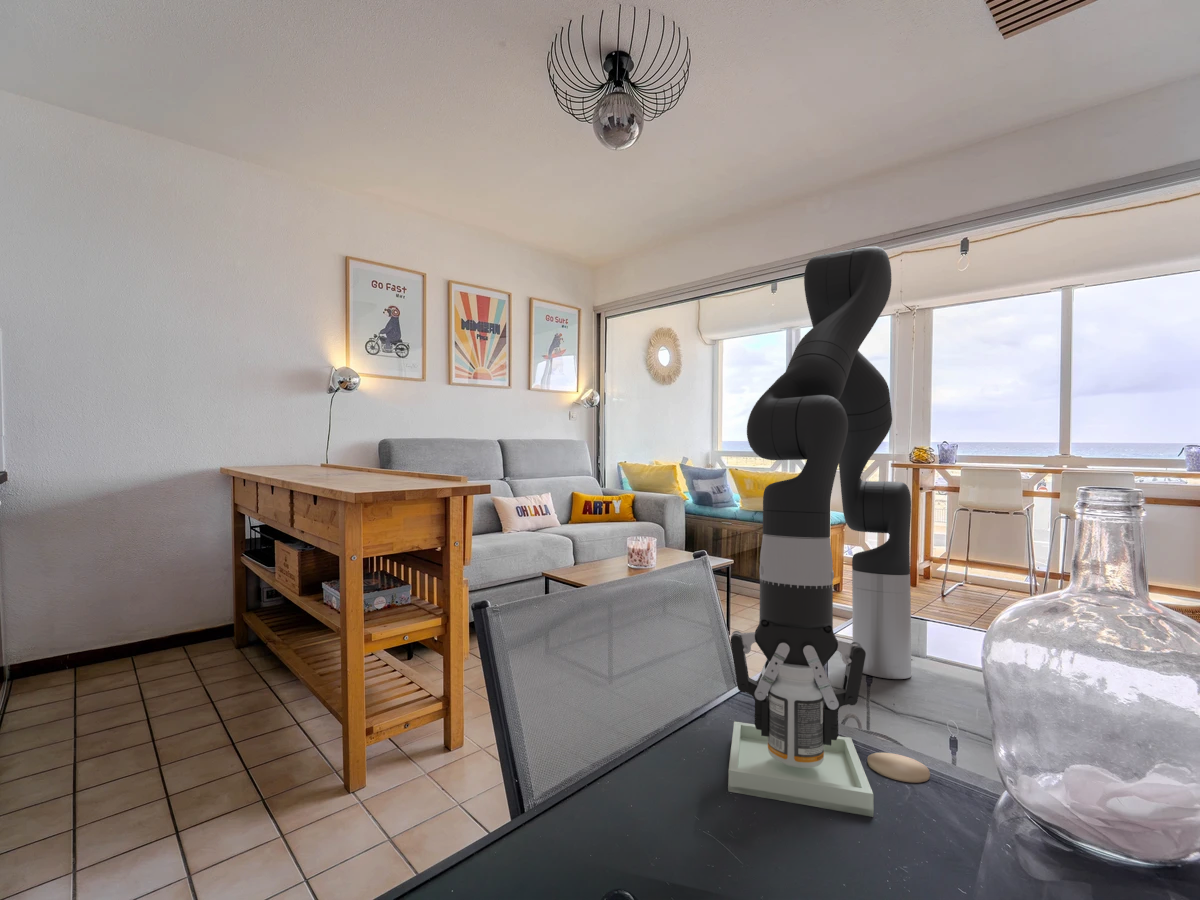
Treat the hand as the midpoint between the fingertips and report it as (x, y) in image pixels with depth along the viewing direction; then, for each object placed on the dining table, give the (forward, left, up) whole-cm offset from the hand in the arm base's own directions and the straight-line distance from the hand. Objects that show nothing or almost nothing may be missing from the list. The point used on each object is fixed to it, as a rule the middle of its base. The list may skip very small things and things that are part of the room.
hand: (794, 737), depth 60 cm
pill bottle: (0, 0, -2) cm, 2 cm away
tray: (0, 0, -4) cm, 4 cm away
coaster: (-5, +11, -4) cm, 12 cm away
